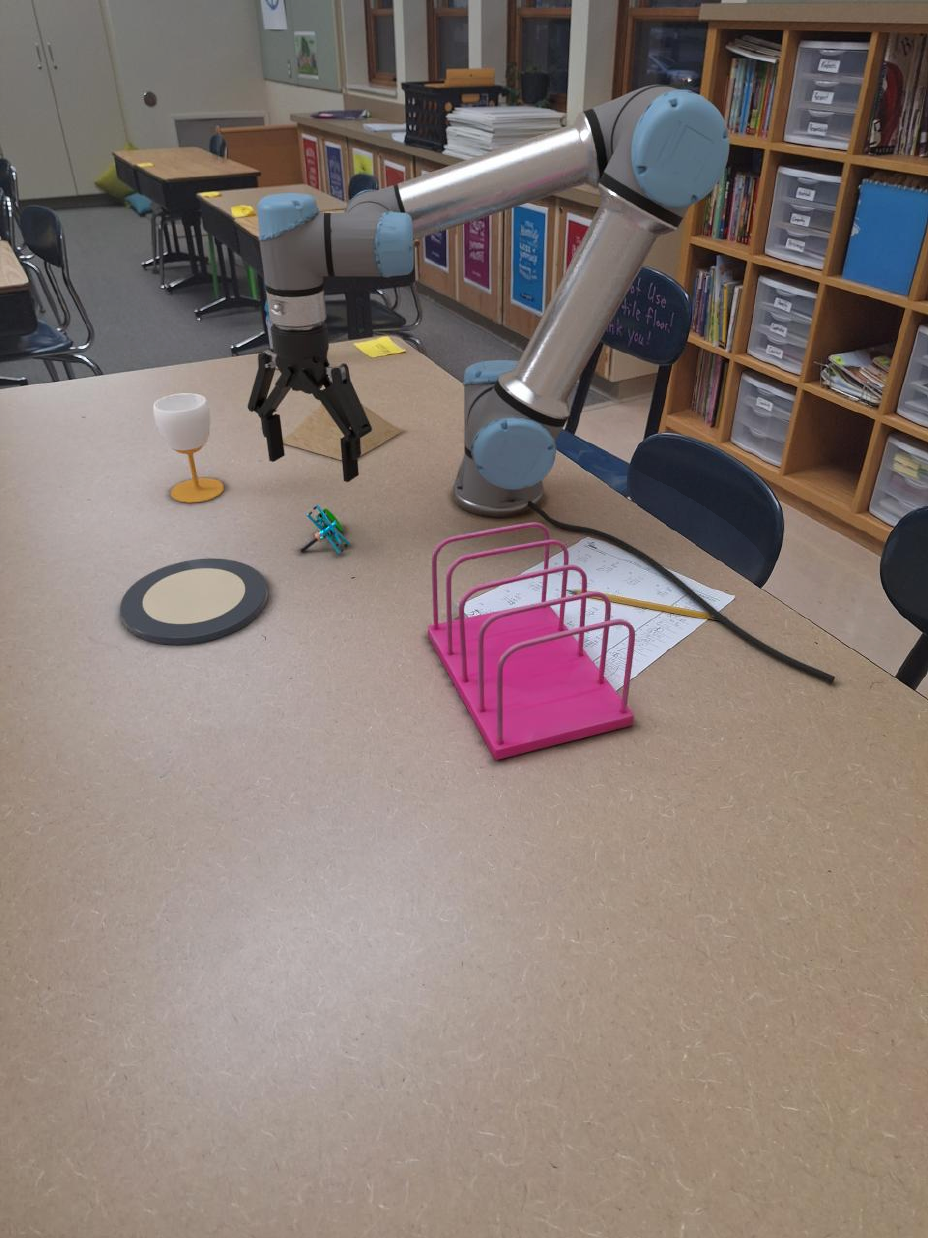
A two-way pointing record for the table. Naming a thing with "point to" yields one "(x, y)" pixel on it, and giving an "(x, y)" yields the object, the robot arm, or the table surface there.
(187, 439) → the cup
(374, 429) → the model pyramid
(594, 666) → the file sorter
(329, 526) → the spiky blue green toy
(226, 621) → the plate
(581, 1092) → the table surface
